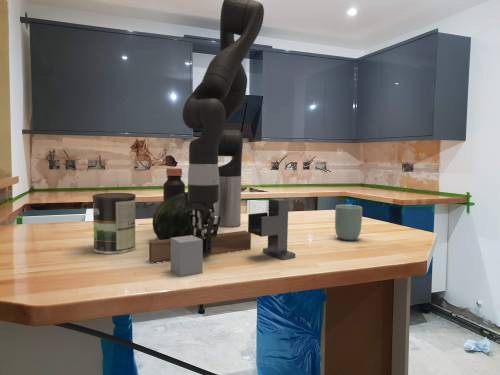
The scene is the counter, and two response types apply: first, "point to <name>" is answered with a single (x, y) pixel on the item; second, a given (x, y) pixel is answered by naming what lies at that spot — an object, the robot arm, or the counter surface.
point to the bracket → (273, 228)
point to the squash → (173, 217)
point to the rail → (219, 245)
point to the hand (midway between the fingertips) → (203, 251)
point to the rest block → (186, 255)
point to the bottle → (173, 183)
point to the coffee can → (114, 222)
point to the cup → (348, 221)
